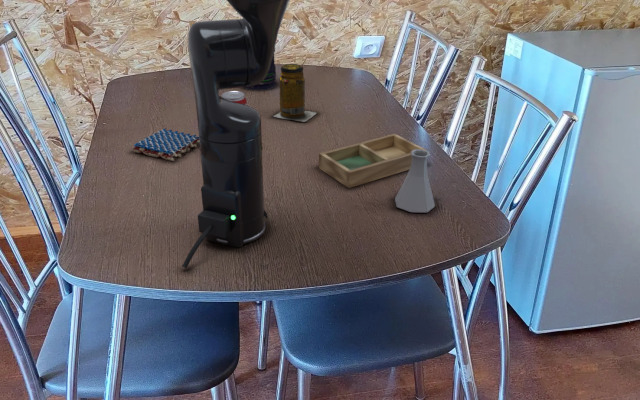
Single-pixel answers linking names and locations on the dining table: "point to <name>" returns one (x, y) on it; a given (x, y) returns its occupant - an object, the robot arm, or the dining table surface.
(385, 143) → the wooden compartment tray
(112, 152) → the dining table surface
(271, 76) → the storage jar
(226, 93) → the soda can
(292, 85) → the condiment
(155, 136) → the woven mat
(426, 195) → the flask
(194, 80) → the robot arm
